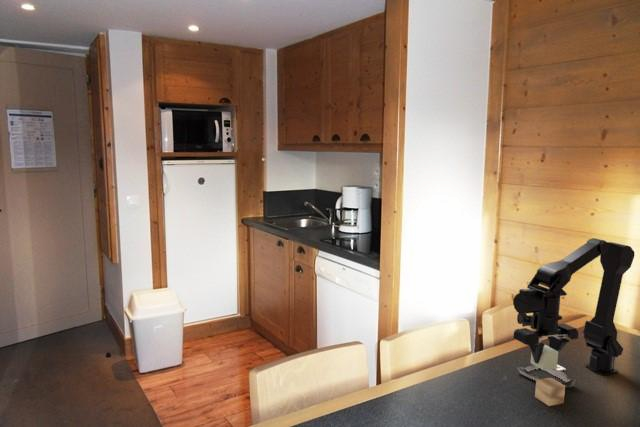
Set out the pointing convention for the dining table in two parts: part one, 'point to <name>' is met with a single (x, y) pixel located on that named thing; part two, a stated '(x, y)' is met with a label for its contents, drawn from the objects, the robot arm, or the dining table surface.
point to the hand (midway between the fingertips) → (543, 361)
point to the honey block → (550, 391)
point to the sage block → (547, 359)
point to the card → (560, 368)
